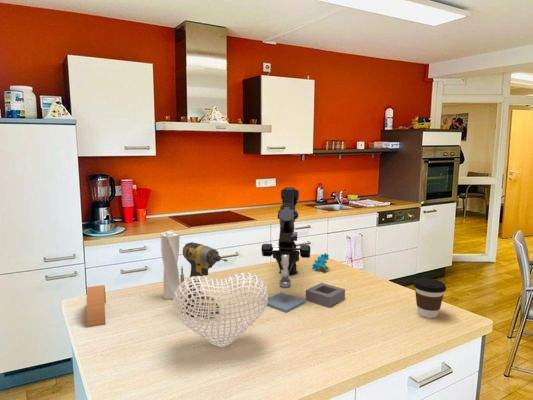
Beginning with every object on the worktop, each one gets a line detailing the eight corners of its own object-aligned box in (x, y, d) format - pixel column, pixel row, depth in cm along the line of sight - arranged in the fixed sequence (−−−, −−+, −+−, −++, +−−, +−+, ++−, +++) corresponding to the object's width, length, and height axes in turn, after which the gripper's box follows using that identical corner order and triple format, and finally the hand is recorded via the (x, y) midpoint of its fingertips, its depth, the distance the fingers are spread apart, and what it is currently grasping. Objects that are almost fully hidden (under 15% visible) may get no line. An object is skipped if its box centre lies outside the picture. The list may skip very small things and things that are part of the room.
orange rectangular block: (86, 328, 131) (84, 299, 130) (90, 304, 150) (88, 279, 148) (105, 325, 133) (103, 297, 132) (106, 302, 152) (105, 277, 150)
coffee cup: (447, 322, 136) (450, 289, 134) (414, 319, 138) (416, 287, 136) (440, 309, 146) (442, 278, 145) (409, 307, 149) (411, 276, 147)
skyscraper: (180, 301, 153) (178, 231, 149) (159, 301, 153) (157, 231, 149) (185, 293, 162) (183, 226, 157) (165, 293, 162) (163, 226, 157)
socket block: (305, 299, 155) (305, 290, 154) (321, 291, 163) (321, 282, 162) (329, 307, 148) (330, 297, 147) (344, 299, 156) (345, 289, 155)
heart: (261, 329, 131) (261, 264, 127) (273, 354, 116) (273, 281, 112) (174, 339, 124) (172, 271, 121) (175, 366, 109) (172, 289, 106)
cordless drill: (216, 327, 132) (215, 254, 128) (176, 311, 144) (174, 244, 140) (234, 317, 139) (233, 248, 135) (195, 303, 151) (193, 239, 147)
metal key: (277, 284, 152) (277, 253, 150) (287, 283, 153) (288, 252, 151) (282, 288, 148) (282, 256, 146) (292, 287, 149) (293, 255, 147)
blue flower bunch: (309, 262, 196) (324, 249, 195) (317, 270, 198) (332, 257, 196) (313, 272, 186) (329, 259, 184) (321, 280, 187) (337, 267, 186)
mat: (261, 303, 151) (261, 301, 151) (281, 294, 160) (281, 292, 160) (286, 312, 143) (286, 310, 143) (305, 302, 152) (305, 300, 152)
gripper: (261, 223, 152) (258, 259, 143) (310, 224, 150) (310, 261, 141) (264, 238, 161) (260, 273, 151) (310, 239, 159) (309, 275, 150)
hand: (285, 270), depth 148 cm, fingers closed on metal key, 3 cm apart
